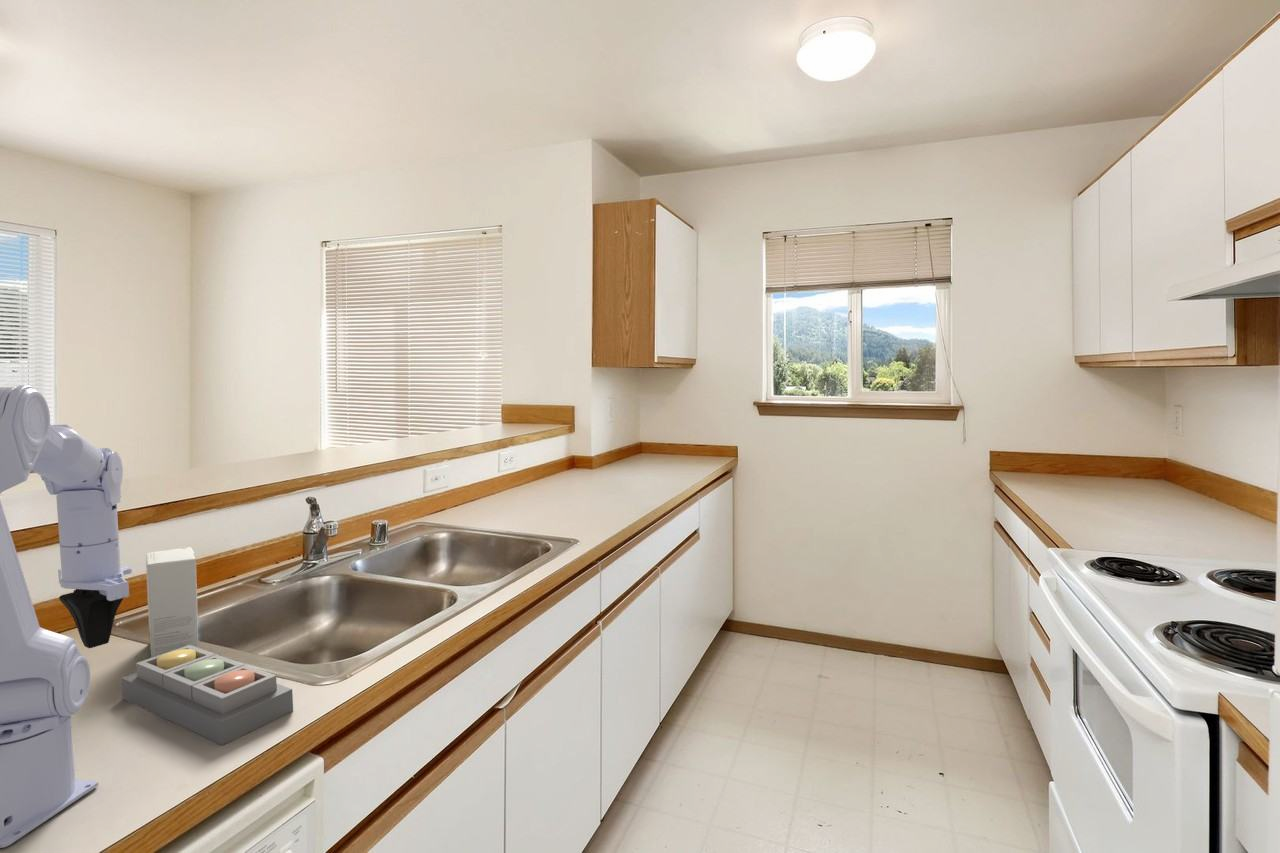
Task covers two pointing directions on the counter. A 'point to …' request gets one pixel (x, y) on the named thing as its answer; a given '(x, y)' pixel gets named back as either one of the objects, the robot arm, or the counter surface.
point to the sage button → (203, 669)
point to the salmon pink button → (233, 680)
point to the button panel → (207, 697)
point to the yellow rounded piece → (175, 658)
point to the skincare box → (172, 600)
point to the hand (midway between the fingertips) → (96, 644)
